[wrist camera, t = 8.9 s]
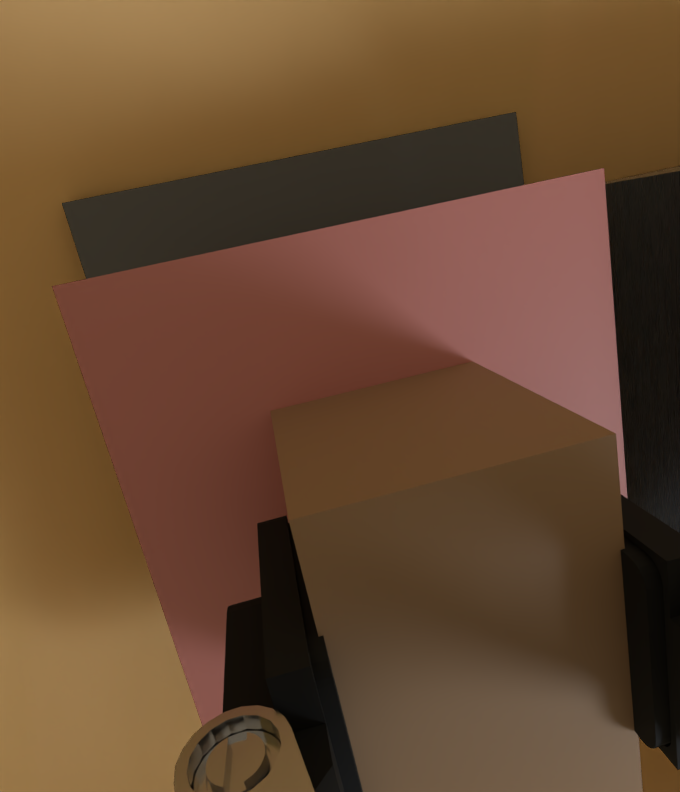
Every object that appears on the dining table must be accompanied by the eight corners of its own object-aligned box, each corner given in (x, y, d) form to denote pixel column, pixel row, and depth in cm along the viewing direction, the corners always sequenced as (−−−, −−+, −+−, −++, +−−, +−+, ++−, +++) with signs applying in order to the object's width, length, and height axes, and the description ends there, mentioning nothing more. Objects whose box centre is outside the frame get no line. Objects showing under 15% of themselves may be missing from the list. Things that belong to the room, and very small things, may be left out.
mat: (507, 116, 15) (516, 111, 15) (564, 616, 20) (572, 625, 19) (67, 204, 14) (62, 203, 14) (231, 715, 19) (231, 727, 18)
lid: (568, 175, 12) (847, 115, 6) (610, 654, 15) (817, 884, 10) (72, 281, 11) (-100, 319, 5) (234, 770, 14) (229, 1099, 9)
